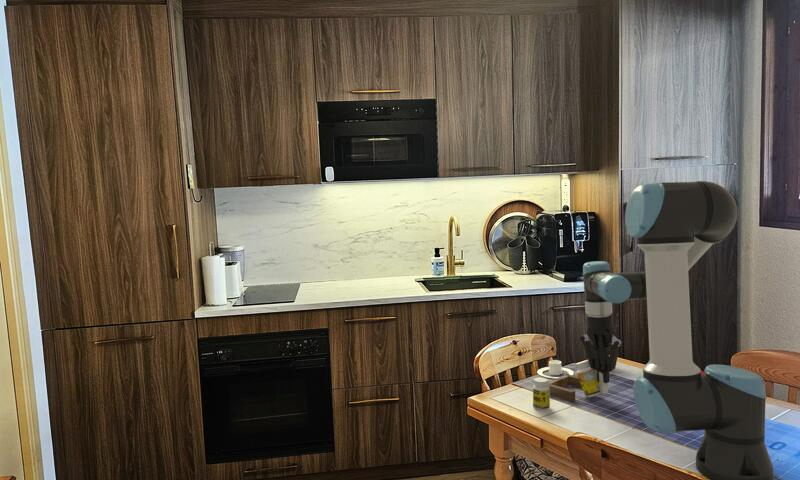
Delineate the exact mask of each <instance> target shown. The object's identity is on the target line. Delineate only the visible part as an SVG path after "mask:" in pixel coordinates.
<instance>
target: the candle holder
mask: <svg viewBox="0 0 800 480" xmlns="http://www.w3.org/2000/svg"><path fill="white" fill-rule="evenodd" d="M563 370H564V371H563ZM546 371H548V373H549V375H552V376H548V375H546V374H543V372H546ZM562 371H563V372H566V371H567V372H566V373H567V374H569V375H573V376H574V374H575V372H574V371H573V370H572V369H569V368H567V367H566V368H565V367H563V365H562V361H561V360H558V359H553V360H550V361H548V366H545V367H542V368H539V369H538V370H537V371H536V373H537V375H539V376H541V377H542V378H546V379H557V378H559V376H561V375H562V374H563V372H562ZM560 374H561V375H560ZM555 376H557V377H555Z"/></svg>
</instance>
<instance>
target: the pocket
mask: <svg viewBox="0 0 800 480" xmlns="http://www.w3.org/2000/svg"><path fill="white" fill-rule="evenodd" d="M558 377H559V376H558ZM548 386H549V388H550V396H551V397H553V398H557V399H561V400H564V401H568V402H571V403H574V402H575V401H576V390H573V389H570V388H566V387H574V388H578V389H581V390H583V389H582V386H581V384H580V381H579V378H578V376H576V375H574V374H573V375H569V373H567V374H565V375H562V376H560V377H559V378H553V380H552V379H551V380H550V381H549V380H548Z"/></svg>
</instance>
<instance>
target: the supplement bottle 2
mask: <svg viewBox="0 0 800 480" xmlns="http://www.w3.org/2000/svg"><path fill="white" fill-rule="evenodd" d="M575 365H576V368H577V370H576V375H577V377H578V378H579V381H580V384H581V386H582V389H581V390H582V391H583V393H584V396H585V397H586V398H593V397H596V396H600V395H601V394H600V382H598V380H597V371H596V370H595V369H592V368H590V365H589V361H588V359H586V360H583V361H581V362H577V363H575Z"/></svg>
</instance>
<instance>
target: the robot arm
mask: <svg viewBox="0 0 800 480" xmlns="http://www.w3.org/2000/svg"><path fill="white" fill-rule="evenodd" d="M625 208H626V209H625V212H624V213H625V215H624V216H625V219H624V221H625V222H624V223H625V228H626V232H627V234H628V235H629V236H630V237H632V238H634V239H636V246H637V248H639V249H640V250H641V251H642V252H643V253H644V262H645V263H644V267H645V271H634V272H633V271H632V272H631V271H630V272H612V271H611V267H610V263H609V262H608V261H603V260H601V261H600V260H599V261H597V260H596V261H588V262H585V263H584V264H583V265H582V277H583V279H582V280H583V290H584V309H585V314H586V315H585V323H586V328H587V330H586V332H585V334H584V335H582V336H579V340H580V341H581V343H582V345H583V348H584V351H585V354H586V358H587V360H588V361H589V365H590V368H592V369H595V370H596V373H597V380H598V382H600V395H605V394H606V393H608V392H609V388H608V387H609V386H608V385H609V384H608V383H610V373H611V372H612V371H615V369H616V366H617V360H618V356H619V352H620V347H621V346H622V344H623V340H622V339H618V338H617V337H616V336H615V333H614V330H613V329H614V316H613V315H612V314H613V304H621V303H623V302H625V301H631V300H633V301H635V300H636V301H637V300H646V307H647V308H646V309H647V310H646V311H647V326H648V330H647V331H648V351H649V360H648V362H647V363H646V364H645V365H644V366H643V367H642V377H641V376H640V377H639V378H636V379H635V381H634V384H633V389H632V390H633V397H634V398H633V399H634V403H635V405H636V406H635V407H636V409H637V411H638V414H639V416H640V418H641V420H642V422H643V423H644V425H645V426H646V427H647V428H648V429H650V430H652V431H653V432H656V433H672V434H673V433H674V434H675V432H676V433H677V432H690V431H691V432H693V431H704V433H703V437H702V439H701V442H700V444H699V447H698V449H697V451H696V454H695V467H696V470H697V471H698V472H699V473H700V474H701V475H703V476H704V477H705V478H707V479H709V480H774V471H775V470H774V466H773V463H772V459H771V458H770V454H769V451H768V449H767V445H766V442H765V441H766V440H765V439H766V436H765V435H766V434H765V433H766V432H765V431H766V399H767V398H768V397H767V391H766V383H765V382H766V381H765V380H764V379H763V378H762V376H760V375H759V374H757V373H755V372H753V371H751V370H748V369H745V368H741V367H737V366H733V365H726V364H714V363H713V364H709V365H706V366H705V368H704V372H705V374H704V375H701V371H702V370H701V368H700V367H699V366H697V364H696V363H695V362H694V360H693V346H692V345H693V344H692V343H693V342H692V340H693V339H692V322H691V320H692V319H691V303H690V302H691V301H690V284H689V283H690V280H689V270H690V269H691V268H692V267H693V266H694V265H695V264H696V263H697V262H698V261H699V259H700V258H702V256H703V255H705V253H706V252H707V251H708V250H709V249H710V247H711V246H712V245H714V244H717V243H720V242H722V241H724V240H725V239H726V237H727V236H729V234H730V233H731V232H732V231H733V229H734V227H735V226H736V223H737V221H738V219H737V218H738V206H737V204H736V200H735V199H734V197H733V195H732V194H731V193H730V191H728V189H726V188H725V187H723V186H722V185H720V184H718V183H715V182H713V181H706V180H702V181H701V180H698V181H697V180H696V181H678V182H674V181H673V182H672V181H671V182H668V181H667V182H653V183H647V184H641V185H638V186H637V187H636V188H635V189H634V190H633V191H632V192H631V194H630V196H629V197H628V200H627V204H626V207H625ZM591 342H592V343H591ZM610 344H611V345H610Z"/></svg>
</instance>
